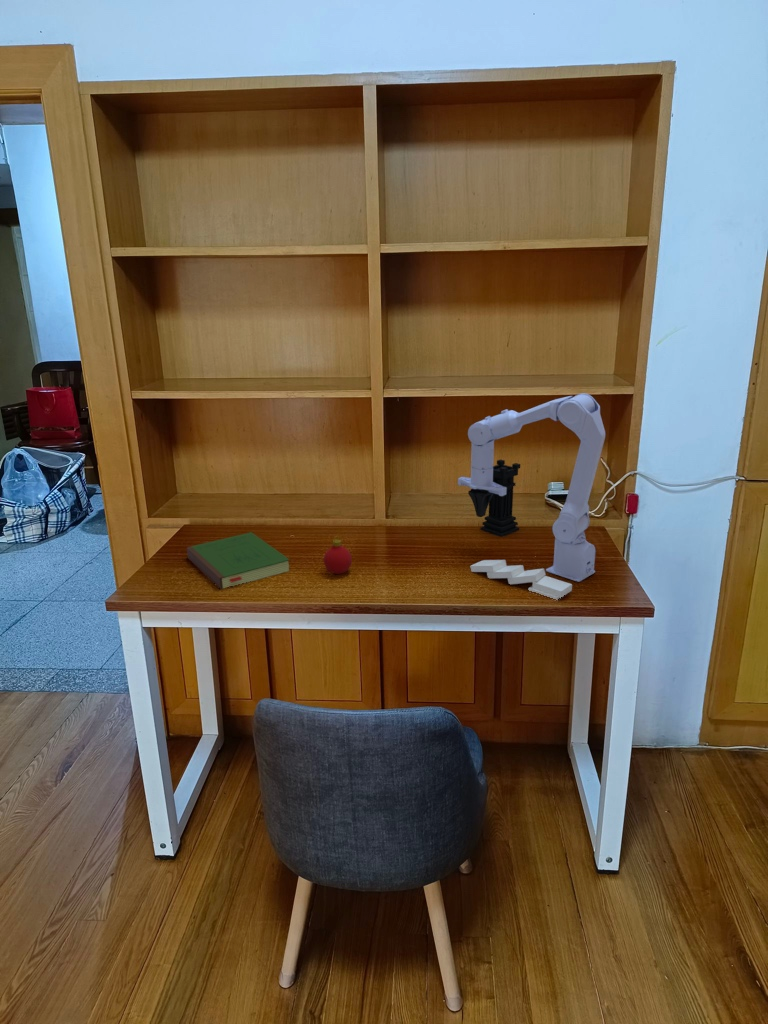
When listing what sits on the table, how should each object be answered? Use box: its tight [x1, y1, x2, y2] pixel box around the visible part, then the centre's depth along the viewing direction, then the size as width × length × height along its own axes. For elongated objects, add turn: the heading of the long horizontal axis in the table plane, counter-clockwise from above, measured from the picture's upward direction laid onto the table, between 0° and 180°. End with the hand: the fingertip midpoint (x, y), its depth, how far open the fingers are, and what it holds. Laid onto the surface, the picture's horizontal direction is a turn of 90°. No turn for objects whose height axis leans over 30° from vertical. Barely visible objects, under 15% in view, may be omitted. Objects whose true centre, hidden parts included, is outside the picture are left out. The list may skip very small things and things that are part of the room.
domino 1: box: [469, 559, 508, 573], centre depth 171 cm, size 2×5×8 cm
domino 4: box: [528, 585, 561, 601], centre depth 161 cm, size 2×5×8 cm
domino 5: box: [532, 575, 573, 599], centre depth 160 cm, size 2×5×8 cm
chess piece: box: [479, 459, 521, 538], centre depth 197 cm, size 8×8×20 cm
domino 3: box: [506, 567, 547, 585], centre depth 164 cm, size 2×5×8 cm
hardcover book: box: [186, 531, 291, 590], centre depth 180 cm, size 25×19×4 cm
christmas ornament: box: [323, 535, 353, 575], centre depth 173 cm, size 7×7×10 cm
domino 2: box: [486, 564, 525, 579], centre depth 168 cm, size 2×5×8 cm
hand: (480, 515), depth 181 cm, fingers closed
